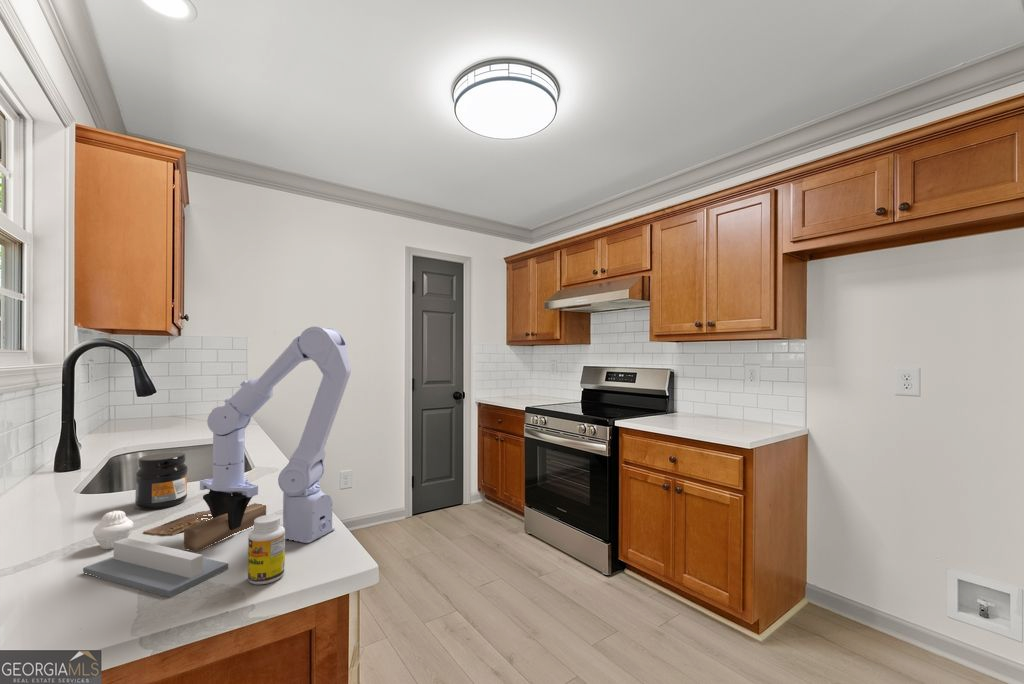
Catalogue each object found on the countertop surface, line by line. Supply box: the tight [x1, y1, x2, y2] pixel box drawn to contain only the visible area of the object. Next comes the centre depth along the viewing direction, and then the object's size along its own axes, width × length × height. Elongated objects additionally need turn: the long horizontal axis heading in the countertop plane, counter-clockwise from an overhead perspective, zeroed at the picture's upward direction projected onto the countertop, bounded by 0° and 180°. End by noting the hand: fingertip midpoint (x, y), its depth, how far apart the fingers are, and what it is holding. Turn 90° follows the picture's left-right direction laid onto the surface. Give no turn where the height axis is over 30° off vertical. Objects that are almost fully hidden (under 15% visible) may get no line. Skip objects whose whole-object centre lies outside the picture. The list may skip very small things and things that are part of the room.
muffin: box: [92, 510, 134, 550], centre depth 91 cm, size 6×6×7 cm
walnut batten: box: [183, 502, 267, 552], centre depth 97 cm, size 4×16×4 cm, turn 160°
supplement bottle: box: [247, 514, 286, 586], centre depth 79 cm, size 6×6×10 cm
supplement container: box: [134, 451, 189, 511], centre depth 116 cm, size 10×10×12 cm
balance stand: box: [82, 537, 229, 598], centre depth 81 cm, size 22×10×4 cm, turn 70°
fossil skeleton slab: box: [142, 509, 213, 537], centre depth 107 cm, size 26×11×1 cm, turn 138°
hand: (227, 526), depth 97 cm, fingers closed on walnut batten, 3 cm apart
